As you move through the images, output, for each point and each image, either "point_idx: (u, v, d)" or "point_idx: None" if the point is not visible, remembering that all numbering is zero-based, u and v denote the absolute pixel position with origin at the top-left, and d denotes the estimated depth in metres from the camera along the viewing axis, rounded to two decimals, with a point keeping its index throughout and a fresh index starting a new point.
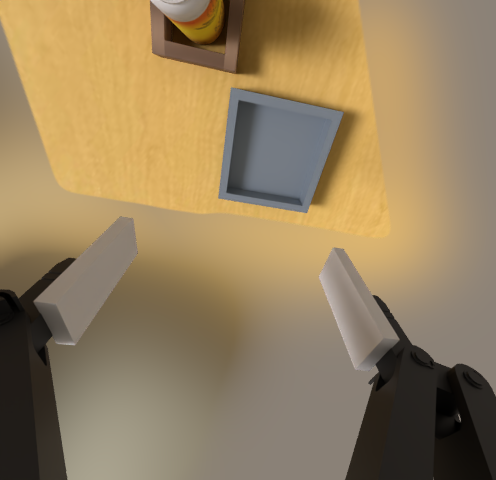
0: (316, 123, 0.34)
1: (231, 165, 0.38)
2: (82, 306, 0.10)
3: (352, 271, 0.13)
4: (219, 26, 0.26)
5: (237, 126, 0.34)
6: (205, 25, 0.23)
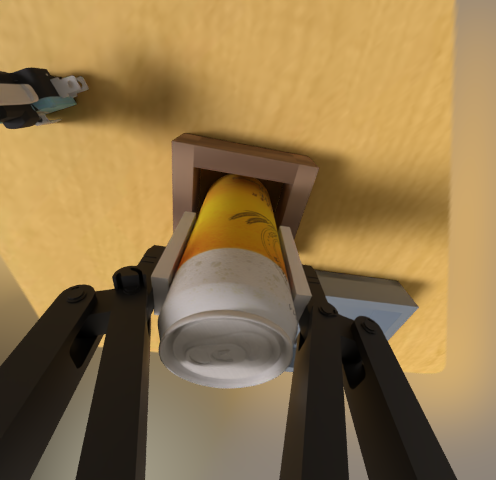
0: None
1: None
2: None
3: (290, 244, 0.14)
4: None
5: None
6: None
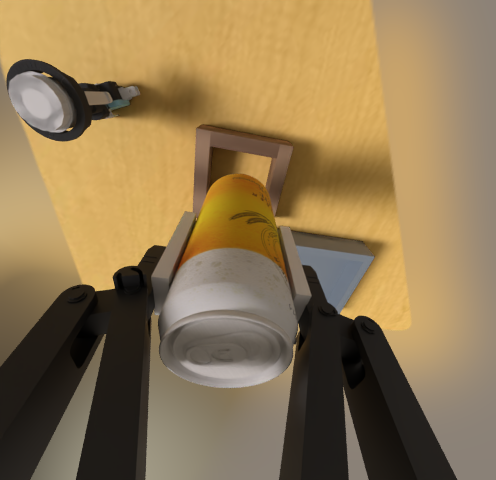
0: None
1: None
2: None
3: (290, 244, 0.14)
4: None
5: None
6: None
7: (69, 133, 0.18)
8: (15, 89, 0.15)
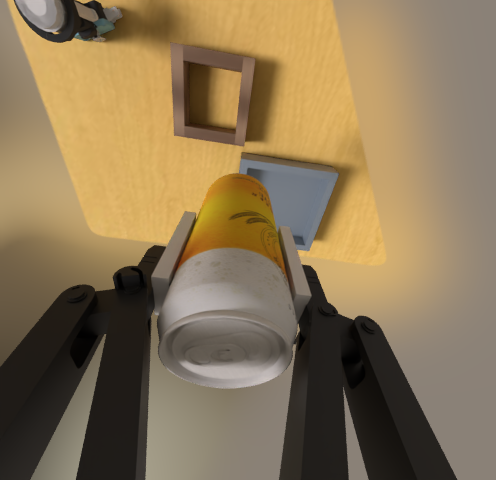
0: (315, 178, 0.39)
1: None
2: None
3: (290, 244, 0.14)
4: None
5: None
6: None
7: (62, 33, 0.22)
8: None
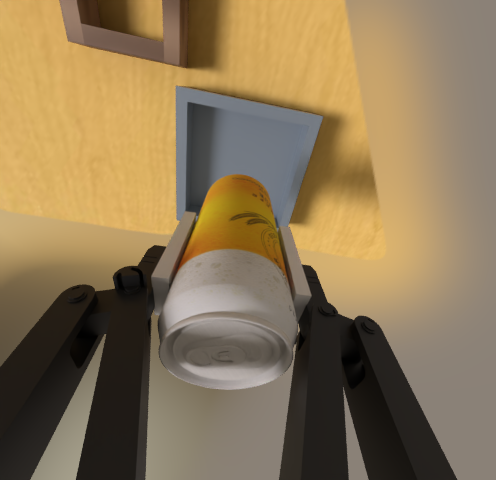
0: (292, 129, 0.28)
1: (192, 180, 0.31)
2: None
3: (290, 244, 0.14)
4: None
5: (194, 134, 0.28)
6: None
7: None
8: None
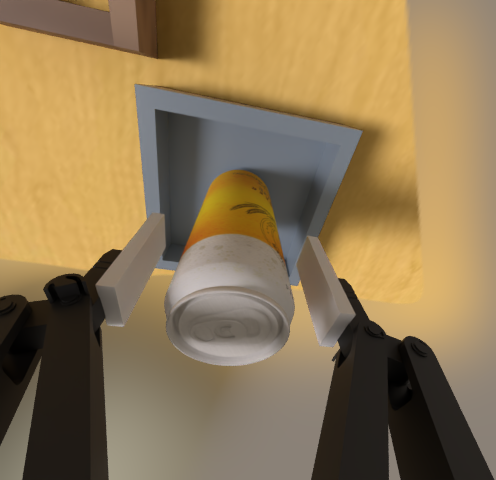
0: (311, 147, 0.19)
1: (172, 213, 0.23)
2: (129, 292, 0.11)
3: (322, 256, 0.13)
4: None
5: (172, 153, 0.20)
6: None
7: None
8: None
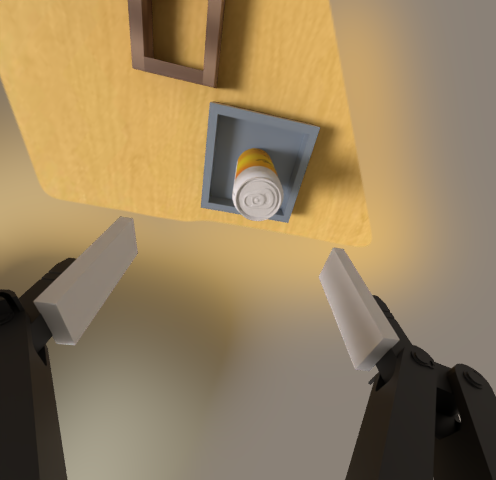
0: (295, 136, 0.35)
1: (214, 175, 0.38)
2: (82, 306, 0.10)
3: (352, 271, 0.13)
4: None
5: (218, 138, 0.35)
6: None
7: None
8: None
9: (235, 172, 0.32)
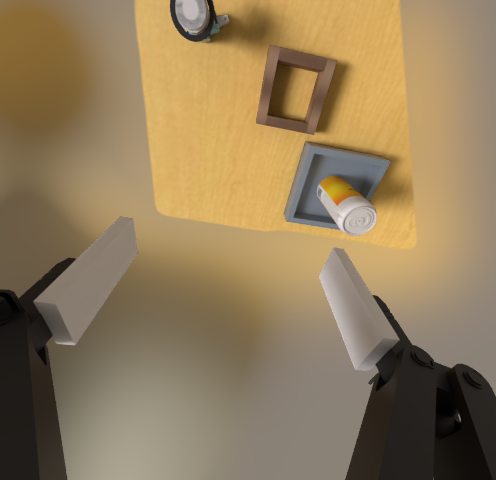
0: (366, 165, 0.45)
1: None
2: (82, 306, 0.10)
3: (352, 271, 0.13)
4: None
5: None
6: None
7: (200, 34, 0.28)
8: None
9: (325, 196, 0.42)
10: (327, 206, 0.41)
